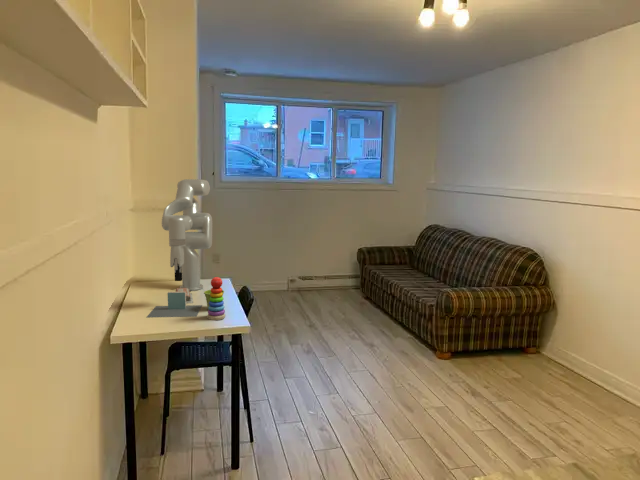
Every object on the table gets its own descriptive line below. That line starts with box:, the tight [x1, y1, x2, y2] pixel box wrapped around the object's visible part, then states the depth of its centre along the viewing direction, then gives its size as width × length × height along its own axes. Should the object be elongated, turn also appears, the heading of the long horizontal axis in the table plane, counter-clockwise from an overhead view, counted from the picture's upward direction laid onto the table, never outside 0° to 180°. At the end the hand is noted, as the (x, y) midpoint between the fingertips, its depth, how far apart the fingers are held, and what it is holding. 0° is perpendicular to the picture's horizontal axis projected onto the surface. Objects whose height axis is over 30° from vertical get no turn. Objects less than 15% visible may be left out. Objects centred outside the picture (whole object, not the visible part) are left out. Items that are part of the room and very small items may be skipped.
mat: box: [146, 304, 203, 319], centre depth 223 cm, size 18×22×1 cm
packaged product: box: [175, 287, 194, 305], centre depth 244 cm, size 18×5×10 cm
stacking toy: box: [206, 276, 226, 321], centre depth 213 cm, size 8×8×19 cm
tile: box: [167, 291, 187, 309], centre depth 227 cm, size 2×8×8 cm, turn 96°
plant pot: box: [203, 289, 225, 311], centre depth 227 cm, size 9×9×9 cm
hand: (178, 280), depth 231 cm, fingers closed
